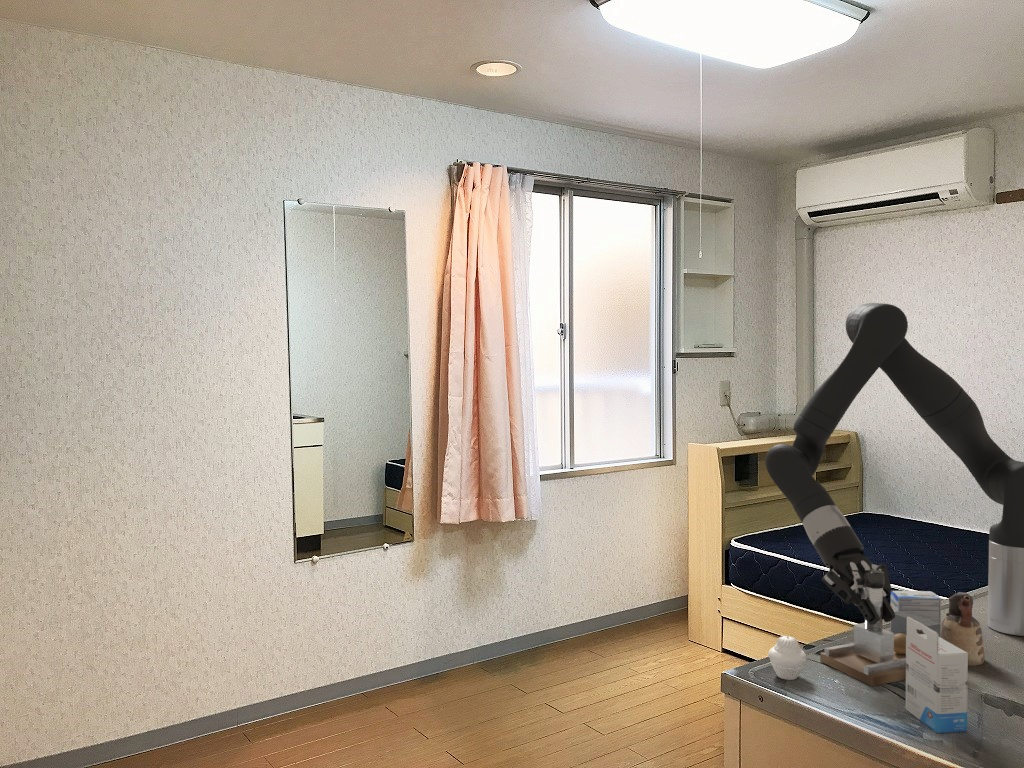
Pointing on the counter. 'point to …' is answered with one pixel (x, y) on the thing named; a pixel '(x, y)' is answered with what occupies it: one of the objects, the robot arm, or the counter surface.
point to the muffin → (787, 658)
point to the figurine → (963, 628)
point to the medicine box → (917, 604)
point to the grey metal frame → (896, 627)
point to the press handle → (872, 637)
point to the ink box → (935, 680)
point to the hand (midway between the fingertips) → (883, 620)
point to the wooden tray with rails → (856, 663)
